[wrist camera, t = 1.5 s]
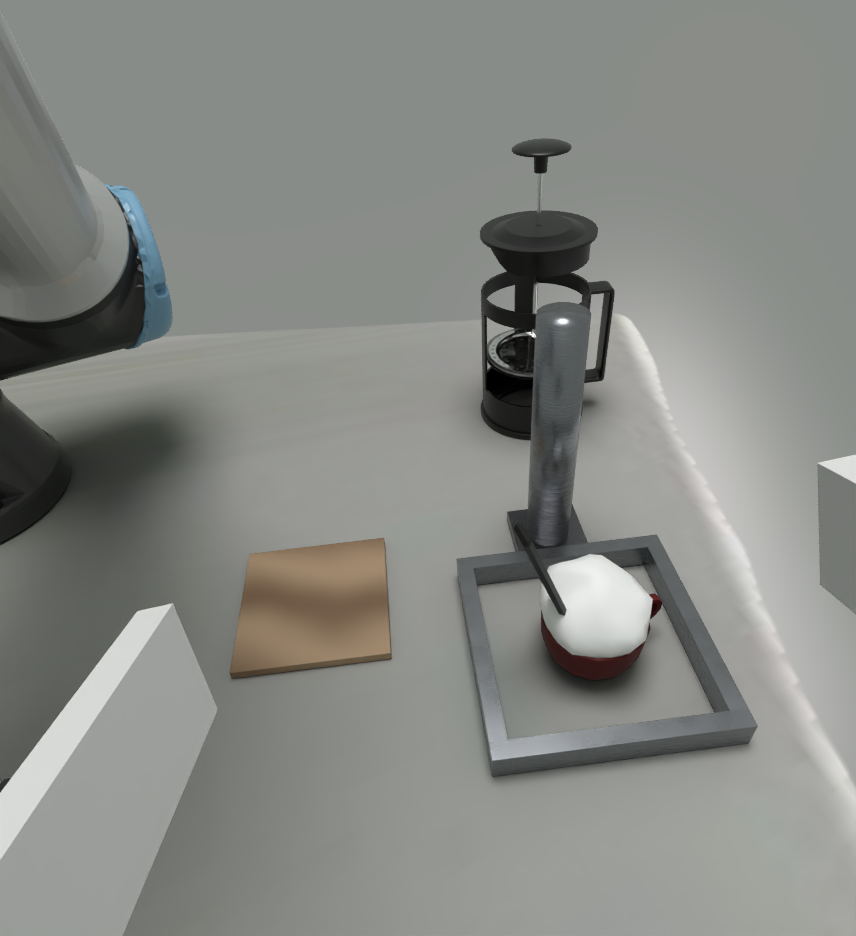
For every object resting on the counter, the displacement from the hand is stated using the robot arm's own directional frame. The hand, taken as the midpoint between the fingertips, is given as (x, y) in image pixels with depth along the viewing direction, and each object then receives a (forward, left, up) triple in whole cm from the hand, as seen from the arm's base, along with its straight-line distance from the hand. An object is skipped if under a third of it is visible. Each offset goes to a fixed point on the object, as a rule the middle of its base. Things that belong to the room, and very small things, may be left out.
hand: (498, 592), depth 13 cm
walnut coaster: (-20, -9, -24) cm, 33 cm away
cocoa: (-14, +8, -24) cm, 29 cm away
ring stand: (-17, +8, -24) cm, 30 cm away
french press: (-40, +11, -24) cm, 48 cm away
